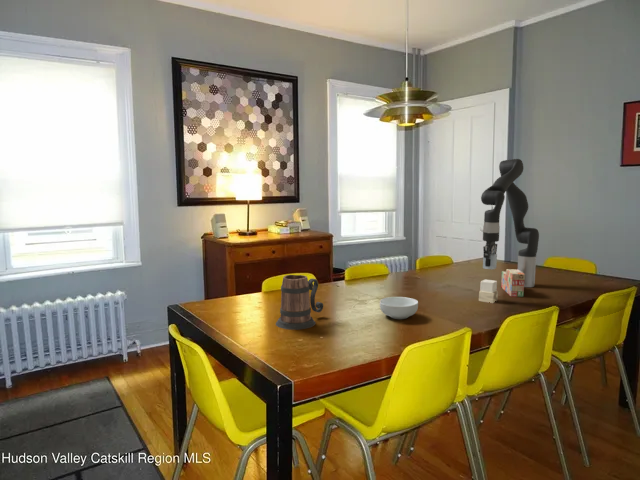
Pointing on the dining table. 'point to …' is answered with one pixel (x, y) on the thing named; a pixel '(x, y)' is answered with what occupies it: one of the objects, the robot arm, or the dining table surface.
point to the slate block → (492, 262)
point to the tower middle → (488, 286)
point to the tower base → (488, 296)
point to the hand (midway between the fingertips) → (489, 265)
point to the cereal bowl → (398, 307)
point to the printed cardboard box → (513, 282)
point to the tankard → (297, 302)
